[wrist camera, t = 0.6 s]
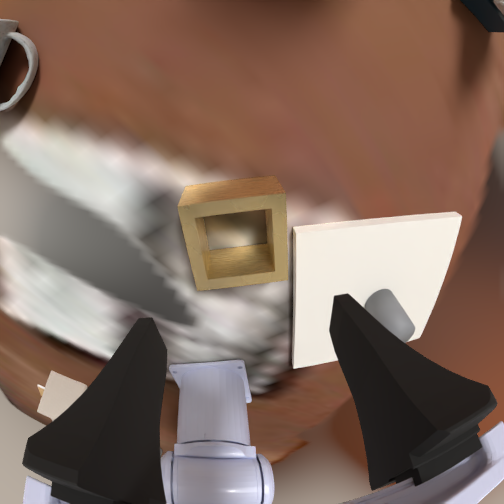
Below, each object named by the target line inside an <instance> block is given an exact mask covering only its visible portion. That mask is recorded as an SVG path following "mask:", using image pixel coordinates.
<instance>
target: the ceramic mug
mask: <svg viewBox="0 0 504 504" xmlns="http://www.w3.org/2000/svg"><path fill="white" fill-rule="evenodd" d="M18 23H19V22H18V21H14V20H7V19H0V66H1V63H2V61H3V58H4V56H5V53H6V51H7V49H8V46H9V44H10V42H11V39H12V38H13V39H14V40H16V41H17V42H18V43H20V44H21V45H22V46H23V47H24V49H25V52H26V54H27V58H28V60H29V71H28V73H27V75H26V78H25V80H24V81H23V83H22V84H21V85H20V86H19V87H18V88H17V92H16V94H15V95H14V96H13V97H12V98H11V99H10V101H8V102H6V103H2V104H0V111H2V110H5V109H7V108H9V107H11V106H12V105H14V104H15V103H16V102H18V101H19V100H20V99H21V98H22V97H23V96H24V95H25V93H26V92H27V91H28V90H29V88H30V86H31V84H32V82H33V80H34V78H35V75H36V71H37V68H38V59H39V58H38V53H37V50H36V47H35V45H34V44H33V42H32V41H31V40H30V39H29V38H27V37H26V36H24V35H22V34H20V33H17V32H15V31H16V29H17V26H18Z"/></svg>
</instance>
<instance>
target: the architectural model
mask: <svg viewBox="0 0 504 504" xmlns="http://www.w3.org/2000/svg"><path fill="white" fill-rule="evenodd" d="M38 389H39V391H40V394H41V396H42V398H41V401H40V404H39V407H38V410H37V412H39V413H41V414H43V415H45V416H47V417H50V418H51V419H52V421H54V420H55V419H56V418H57V417H58V416H60V415H61V414H62V413H63V412H64V411H65V410H66V409H68V408H69V407H70V406H71V405H72V404H73V403H74V402H75V401H76V400H77V399H78V398H79V397H80V396H81V395H82V394H83V393H84V391H85V390H86V389H87V386H86V385H85V384H83V383H80V382H77V381H75V380H72V379H70V378H68V377H65V376H63V375H60V374H58V373H56V372H54V371H51V373H50V375H49V378H48V381H47V384H46V386H45V387H43V386H41V385H39V384H38Z"/></svg>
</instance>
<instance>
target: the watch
mask: <svg viewBox="0 0 504 504" xmlns="http://www.w3.org/2000/svg"><path fill="white" fill-rule="evenodd" d="M460 1H461V2H462V3H463V4H464V5H465V6H466V7H467V8H468V9H469V10H470V11H471V12H472V13H473V14H474V15H475V17H476V18H477V19H478V20H479V21H480V22H481V23H482V25H483V26H484V27H485V28H486V29H487V30H488V32H504V0H460Z"/></svg>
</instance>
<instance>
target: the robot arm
mask: <svg viewBox="0 0 504 504" xmlns="http://www.w3.org/2000/svg"><path fill="white" fill-rule="evenodd" d="M329 333H330V336H331V340H332V344H333V347H334V351H335V354H336V356H337V359H338V361H339V363H340V366H341V368H342V371H343V373H344V376H345V378H346V381H347V383H348V386H349V388H350V391H351V393H352V396H353V398H354V401H355V405H356V409H357V412H358V417H359V420H360V425H361V429H362V434H363V439H364V444H365V450H366V456H367V463H368V471H369V482H370V486H371V489H372V490H375V489H378V488H381V487H383V486H386V485H389V484H391V483H394V482H396V484H395V485H393V486H391V487H388V488H385V489H383V490H380V491H378V492H375V493H372V494H369V495H366V496H363V497H360V498H357V499H354V500H350V501H348V502H344V503H340V504H477V503H478V502H479V501H480V500H482V499H483V498H484V497H485V496H486V495H487V494H488V493H489V492H490V491H491V490H492V489H493V488H495V486H497V485H498V484H499V483H500V482H501V481H502V480H503V479H504V424H503V422H502V421H501V422H499V423H498V424H497V425H495V426H494V427H493V428H491V429H490V430H489V431H487V432H486V433H485V434H483V435H482V436H481V437H478V435H477V433H478V432H479V431H480V428H479V426H478V423H479V422H480V421H482V420H483V419H484V418H485V417H486V416H487V415H488V414H489V413H490V412H492V410H494V408H495V407H496V406H497V401H496V399H495V397H494V395H493V394H492V392H491V390H490V388H489V387H488V386H487V385H484V384H481V383H478V382H475V381H472V380H470V379H467V378H465V377H462V376H460V375H458V374H455V373H453V372H451V371H449V370H447V369H445V368H443V367H441V366H440V365H438V364H436V363H434V362H432V361H431V360H429V359H427V358H426V357H424V356H423V355H421V354H420V353H418V352H417V351H415V350H414V349H412V348H411V347H409V346H408V345H407V344H405V343H404V342H403V341H401V340H400V339H399V338H398V337H396V336H395V335H394V334H393V333H391V332H390V331H389V330H388V329H387V328H386V327H384V326H383V325H382V324H381V323H380V322H379V321H378V320H376V319H375V318H374V317H373V316H372V315H371V314H370V313H369V312H368V311H367V310H366V309H365V308H363V307H362V306H361V305H360V304H359V303H358V302H357V301H356V300H355V299H354V298H353V297H352V296H351V295H349V294H348V293H347V294H341V295H335V296H334V299H333V306H332V313H331V320H330V327H329ZM166 370H167V349H166V347H165V344H164V342H163V340H162V338H161V336H160V334H159V332H158V329H157V327H156V325H155V323H154V320H153V318H139V319H138V320H137V321H136V323H135V324H134V326H133V327H132V328H131V330H130V331H129V333H128V334H127V336H126V337H125V339H124V340H123V342H122V343H121V345H120V346H119V347H118V349H117V350H116V352H115V353H114V355H113V356H112V357H111V359H110V360H109V362H108V363H107V364H106V366H105V367H104V368H103V370H102V371H101V372H100V374H99V375H98V376H97V378H96V379H95V380H94V381H93V382H92V384H91V385H90V386H89V387H88V388H87V389H86V390H85V391H84V393H83V394H82V395H81V396H80V397H79V398H78V399H77V400H76V401H75V402H74V403H73V404H72V405H71V406H70V407H69V408H68V409H66V410H65V411H64V412H63V413H62V414H61V415H60V416H58V417H57V418H56V419H55V420H54V421H52V422H51V423H50V424H48V425H47V426H46V427H44V428H43V429H41V430H40V431H38V432H37V433H35V434H34V435H32V436H31V437H29V438H28V441H27V445H26V449H25V453H24V458H23V463H22V464H23V465H24V466H25V467H26V468H28V469H29V470H31V471H33V472H35V473H37V474H39V475H41V476H42V477H44V478H46V479H48V480H51V481H52V486H50V485H48V484H45V483H43V482H41V481H39V480H37V479H34V478H32V477H30V476H27V478H26V484H25V491H24V499H23V504H272V501H273V497H274V478H273V472H272V468H271V465H270V463H269V461H268V460H267V459H266V458H265V457H264V456H263V455H262V454H256V449H255V446H251V445H250V436H249V426H248V416H247V406H246V403H250V402H251V401H252V399H251V394H250V389H249V384H248V379H247V374H246V368H245V363H244V361H243V360H229V361H218V362H206V363H191V364H172V365H170V366H169V370H170V372H171V374H172V376H173V378H174V379H175V381H176V383H177V385H178V386H179V388H180V395H179V410H178V428H177V444H176V443H175V444H174V452H173V451H167V452H166V453H165V454H164V455H163V456H162V457H161V459H160V415H161V407H162V400H163V393H164V386H165V379H166Z"/></svg>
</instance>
